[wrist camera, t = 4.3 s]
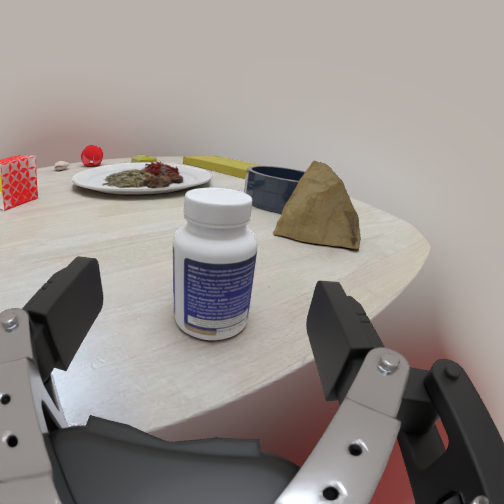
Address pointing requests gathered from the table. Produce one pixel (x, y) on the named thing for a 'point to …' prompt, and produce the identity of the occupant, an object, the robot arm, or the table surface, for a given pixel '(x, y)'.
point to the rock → (320, 211)
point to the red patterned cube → (17, 181)
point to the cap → (92, 155)
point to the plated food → (141, 178)
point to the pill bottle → (214, 263)
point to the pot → (271, 186)
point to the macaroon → (61, 165)
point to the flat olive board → (219, 164)
